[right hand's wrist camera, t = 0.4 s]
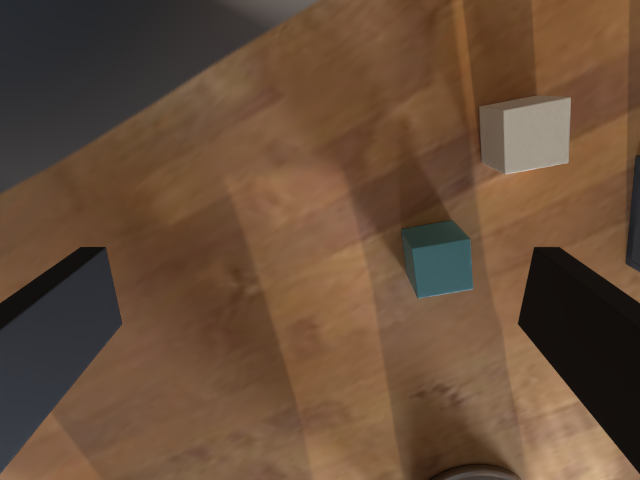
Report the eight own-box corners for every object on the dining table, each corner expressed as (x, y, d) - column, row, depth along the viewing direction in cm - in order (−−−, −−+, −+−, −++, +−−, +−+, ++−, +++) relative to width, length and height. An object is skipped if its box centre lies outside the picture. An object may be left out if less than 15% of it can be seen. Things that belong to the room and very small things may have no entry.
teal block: (455, 265, 41) (473, 289, 36) (406, 274, 41) (417, 298, 36) (452, 219, 39) (470, 238, 34) (400, 228, 39) (411, 248, 34)
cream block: (537, 152, 36) (568, 162, 32) (481, 162, 37) (504, 174, 32) (537, 95, 35) (571, 97, 30) (479, 106, 35) (503, 110, 30)
